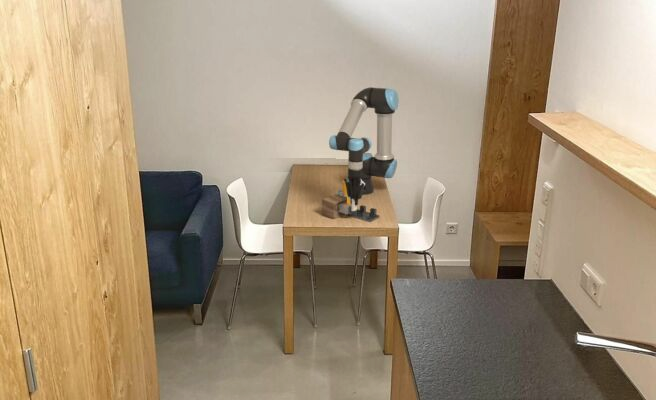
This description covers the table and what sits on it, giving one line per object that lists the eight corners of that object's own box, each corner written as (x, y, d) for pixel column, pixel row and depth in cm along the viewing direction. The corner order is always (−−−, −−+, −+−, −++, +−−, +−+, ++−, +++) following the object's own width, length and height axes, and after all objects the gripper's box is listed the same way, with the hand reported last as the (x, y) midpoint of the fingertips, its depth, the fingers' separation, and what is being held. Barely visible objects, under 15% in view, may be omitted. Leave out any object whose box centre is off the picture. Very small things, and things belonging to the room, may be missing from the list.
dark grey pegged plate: (355, 210, 346) (356, 203, 344) (379, 217, 337) (379, 210, 335) (346, 215, 339) (346, 207, 338) (369, 222, 330) (370, 214, 328)
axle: (330, 206, 343) (330, 198, 341) (352, 212, 334) (352, 205, 333) (326, 208, 340) (326, 200, 338) (347, 214, 331) (348, 207, 330)
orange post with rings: (352, 210, 346) (353, 185, 341) (334, 208, 348) (335, 183, 343) (356, 203, 358) (357, 178, 353) (338, 201, 360) (339, 177, 355)
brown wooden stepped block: (335, 209, 347) (335, 194, 343) (346, 213, 342) (347, 197, 339) (322, 215, 338) (322, 199, 335) (333, 219, 333) (333, 203, 330)
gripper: (341, 167, 323) (340, 209, 331) (361, 172, 316) (359, 215, 324) (349, 164, 329) (348, 205, 337) (369, 169, 321) (368, 211, 329)
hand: (354, 210), depth 330 cm, fingers closed
